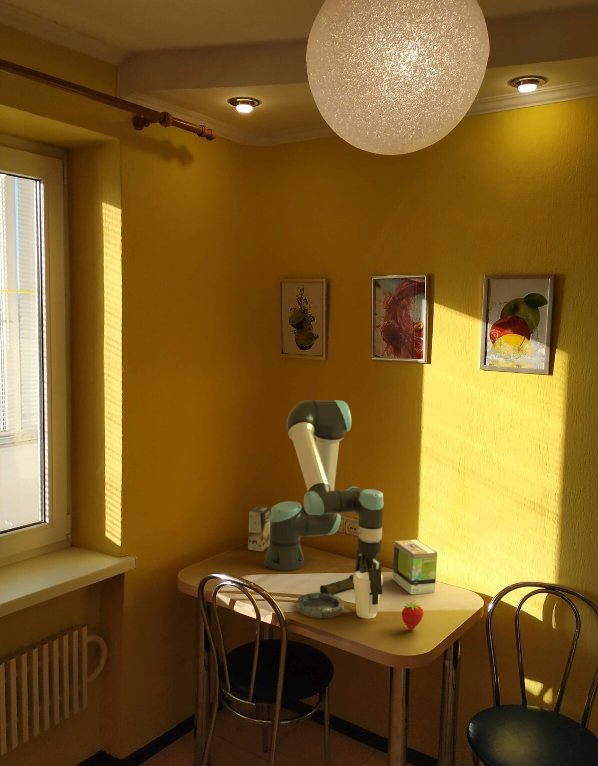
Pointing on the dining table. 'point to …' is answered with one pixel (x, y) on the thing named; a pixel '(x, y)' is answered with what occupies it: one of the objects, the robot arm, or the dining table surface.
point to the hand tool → (337, 586)
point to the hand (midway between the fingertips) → (366, 606)
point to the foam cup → (363, 594)
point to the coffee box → (259, 528)
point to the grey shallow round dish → (320, 605)
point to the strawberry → (412, 615)
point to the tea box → (414, 566)
